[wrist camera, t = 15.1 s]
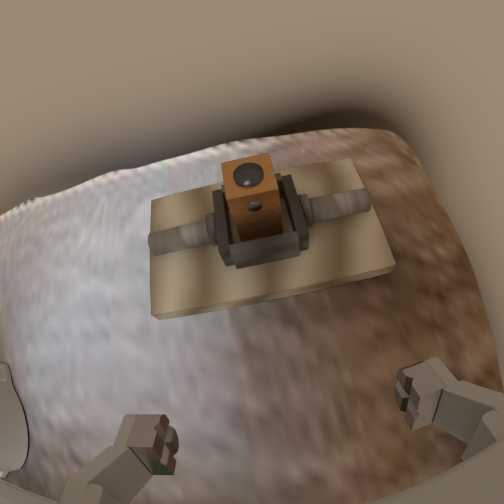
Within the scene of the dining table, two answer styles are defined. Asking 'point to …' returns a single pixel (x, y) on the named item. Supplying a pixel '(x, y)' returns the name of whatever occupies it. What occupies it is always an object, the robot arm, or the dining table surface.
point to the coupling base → (264, 243)
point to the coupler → (253, 197)
